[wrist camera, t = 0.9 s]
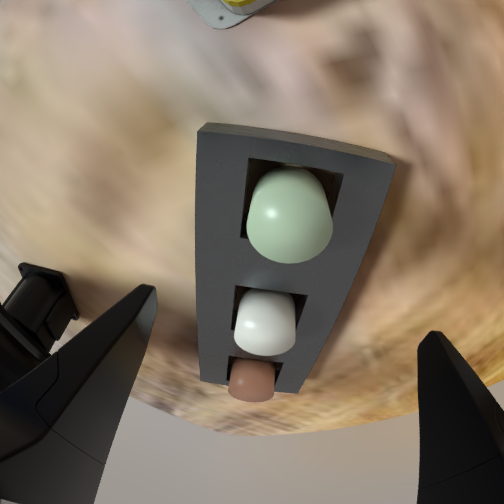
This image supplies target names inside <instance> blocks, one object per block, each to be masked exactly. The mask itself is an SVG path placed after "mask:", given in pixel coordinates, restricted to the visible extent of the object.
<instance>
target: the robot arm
mask: <svg viewBox="0 0 504 504" xmlns="http://www.w3.org/2000/svg"><path fill="white" fill-rule="evenodd" d="M18 269H19V271H20V273H21V275H22V279H21V280H20V282H19V283H18V284H17V286H16V287H15V288H14V290H13V291H12V292H11V294H10V295H9V296H8V298H7V299H6V300H5V302H4V303H3V305H1V303H0V504H94V501H95V497H96V494H97V490H98V487H99V484H100V480H101V477H102V474H103V470H104V467H105V464H106V461H107V457H108V454H109V452H110V448H111V445H112V442H113V440H114V437H115V433H116V431H117V428H118V425H119V422H120V419H121V416H122V413H123V411H124V408H125V405H126V403H127V400H128V397H129V395H130V392H131V389H132V387H133V384H134V381H135V379H136V376H137V373H138V371H139V368H140V366H141V363H142V361H143V358H144V355H145V352H146V348H147V345H148V341H149V337H150V334H151V330H152V326H153V323H154V319H155V316H156V312H157V295H156V288H155V287H154V286H152V285H147V284H141V285H139V286H138V287H137V288H135V289H134V290H133V291H131V292H130V293H129V294H127V295H126V296H125V297H124V298H122V299H121V300H120V301H118V302H117V303H116V304H115V305H113V306H112V307H111V308H109V309H108V310H107V311H106V312H104V313H103V314H102V315H101V316H99V317H98V318H97V319H95V320H94V321H93V322H92V323H90V324H89V325H88V326H87V327H85V328H84V329H83V330H82V331H80V332H79V333H78V334H77V335H76V336H74V337H73V338H72V339H71V340H69V341H68V342H67V343H66V344H65V345H63V346H62V347H61V348H60V349H58V352H57V351H56V352H55V353H53V354H52V355H51V354H50V353H49V352H50V350H51V348H52V346H53V344H54V342H55V341H56V340H57V341H58V340H59V339H60V338H61V336H62V334H63V332H64V331H65V329H66V327H67V325H68V324H69V322H70V320H71V319H73V320H78V318H79V314H78V312H77V310H76V307H75V305H74V303H73V300H72V298H71V296H70V293H69V291H68V288H67V286H66V283H65V280H64V278H63V276H62V275H61V274H60V273H58V272H54V271H50V270H46V269H42V268H38V267H35V266H31V265H27V264H24V263H20V264H19V265H18ZM417 359H418V404H419V427H420V462H419V485H418V496H417V504H504V411H503V409H502V408H501V407H500V405H499V404H498V402H496V400H495V398H494V397H493V396H492V394H491V393H490V391H489V390H488V389H487V387H486V386H485V385H484V383H483V382H482V381H481V380H480V378H479V377H478V376H477V374H476V373H475V372H474V370H473V369H472V368H471V367H470V365H469V364H468V363H467V362H466V360H465V359H464V358H463V357H462V356H461V354H460V353H459V352H458V351H457V349H456V348H455V347H454V346H453V345H452V343H451V342H450V341H449V340H448V339H447V337H446V336H445V335H444V334H443V333H442V332H441V331H430V332H429V333H428V334H427V336H426V337H425V338H424V339H423V340H422V341H421V343H420V344H419V346H418V349H417Z"/></svg>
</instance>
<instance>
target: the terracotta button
mask: <svg viewBox="0 0 504 504" xmlns="http://www.w3.org/2000/svg"><path fill="white" fill-rule="evenodd" d="M274 381H275V363H274V362H273V361H265V360H257V359H249V358H242V357H236V358H235V359H234V360H233V363H232V370H231V376H230V382H229V388H228V392H229V394H230V395H231V396H233V397H234V398H236V399H239V400H242V401H247V402H263V401H267V400H269V399H271V398H272V397H273V395H274Z"/></svg>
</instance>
